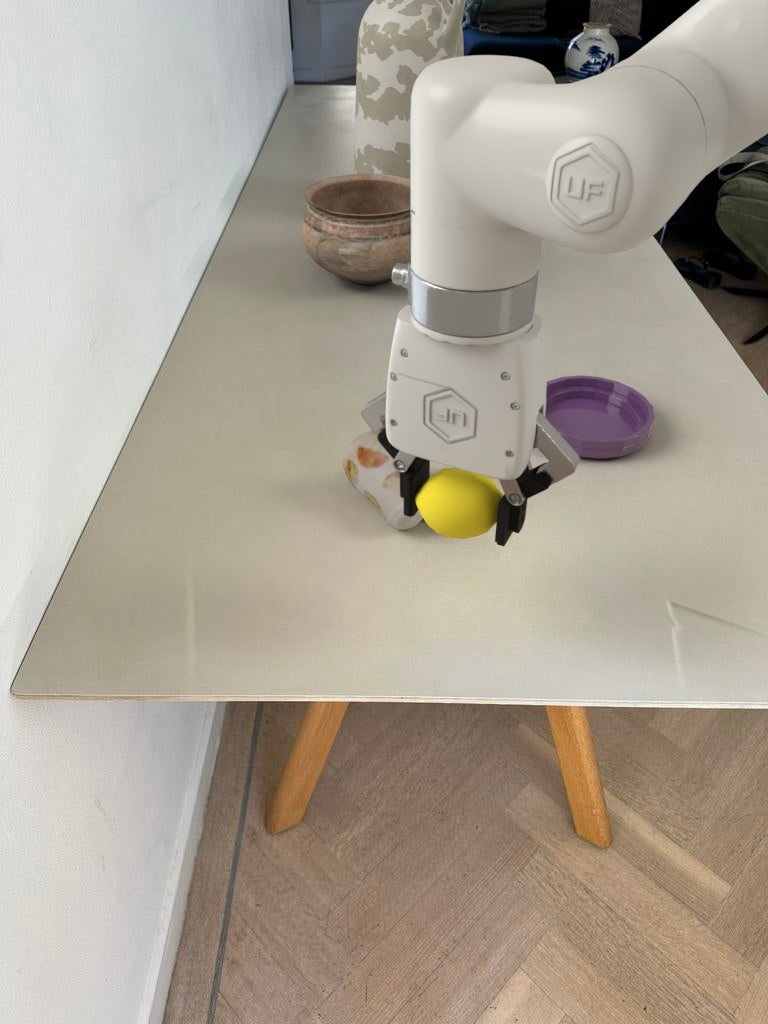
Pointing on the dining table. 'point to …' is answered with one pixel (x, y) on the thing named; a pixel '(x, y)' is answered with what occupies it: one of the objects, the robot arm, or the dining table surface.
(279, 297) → the dining table surface
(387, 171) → the vase
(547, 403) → the dish
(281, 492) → the dining table surface
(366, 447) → the mug
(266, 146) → the dining table surface
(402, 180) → the cooking pot
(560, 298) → the dining table surface
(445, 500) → the lemon
